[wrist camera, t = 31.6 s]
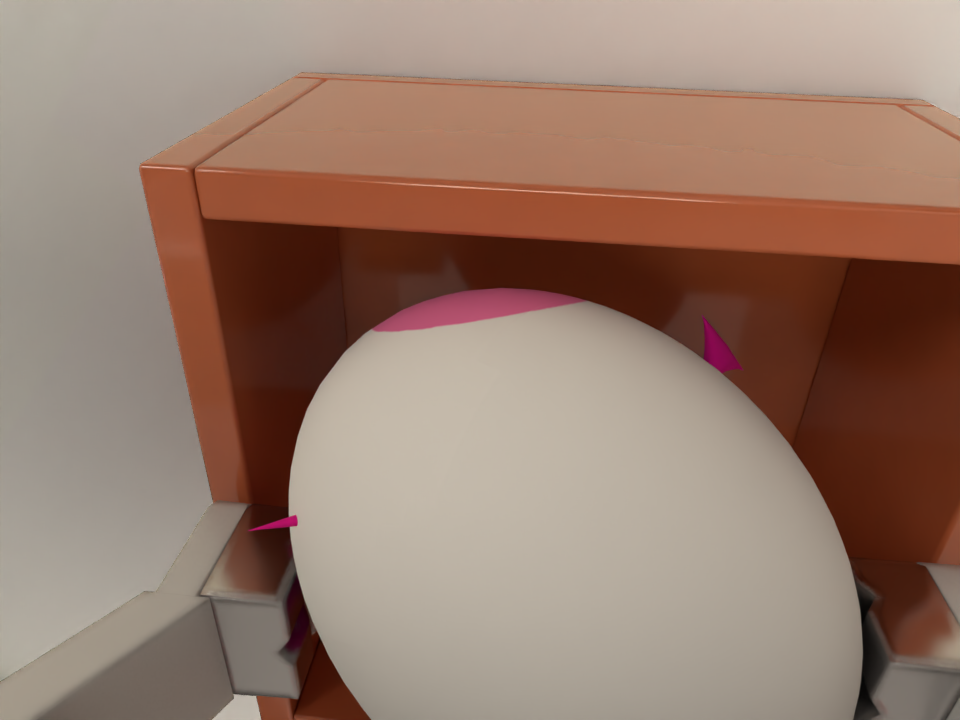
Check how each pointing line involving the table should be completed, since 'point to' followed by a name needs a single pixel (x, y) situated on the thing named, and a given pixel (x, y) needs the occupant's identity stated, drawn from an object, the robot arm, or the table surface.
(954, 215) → the terracotta bin
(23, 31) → the table surface
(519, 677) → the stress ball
